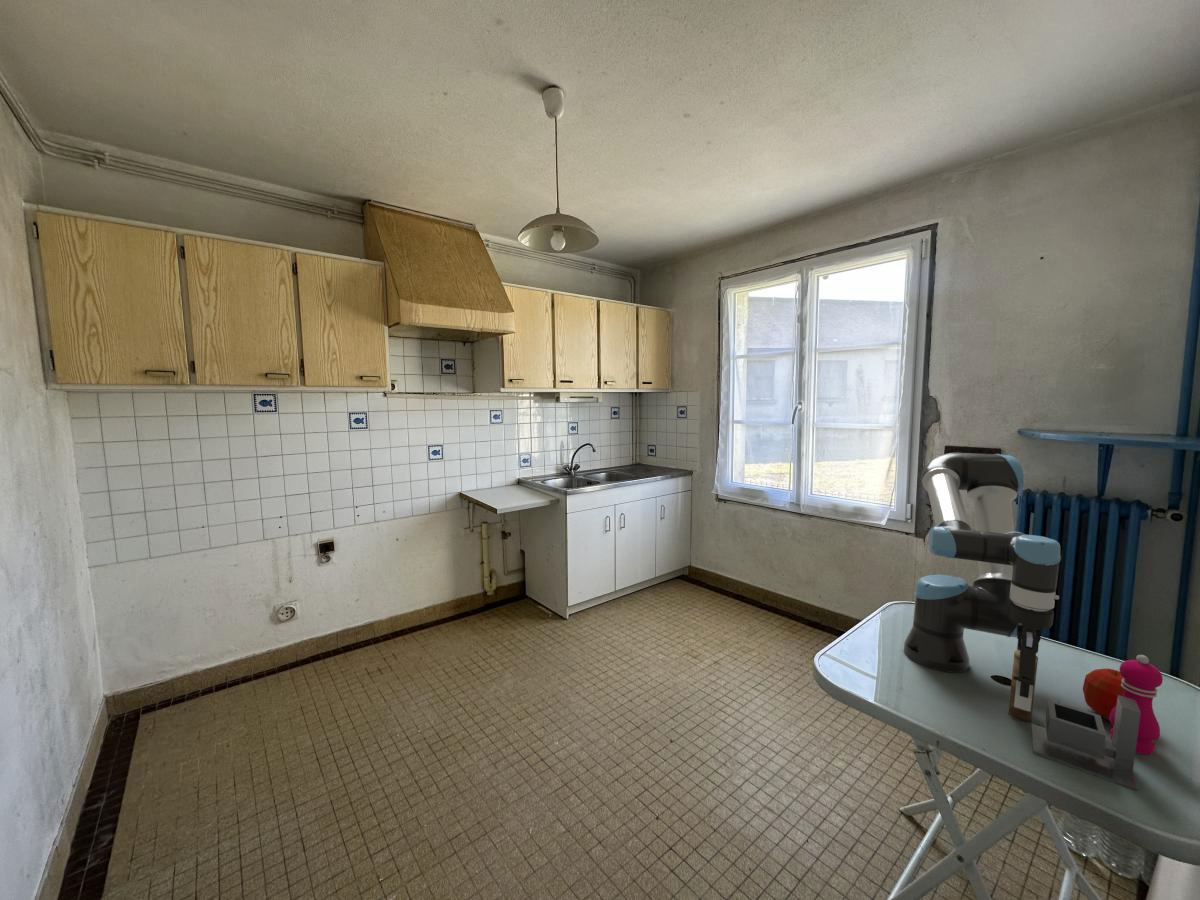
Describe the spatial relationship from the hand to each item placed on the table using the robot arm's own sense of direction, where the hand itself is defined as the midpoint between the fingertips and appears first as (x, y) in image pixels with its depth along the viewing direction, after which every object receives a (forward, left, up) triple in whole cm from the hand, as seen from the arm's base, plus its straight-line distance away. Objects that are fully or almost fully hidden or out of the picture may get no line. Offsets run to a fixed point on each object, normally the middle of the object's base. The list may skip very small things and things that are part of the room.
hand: (1021, 696), depth 110 cm
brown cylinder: (0, 0, -5) cm, 5 cm away
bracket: (+9, -8, -5) cm, 13 cm away
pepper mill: (+18, +4, -5) cm, 19 cm away
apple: (+16, +14, -5) cm, 22 cm away
